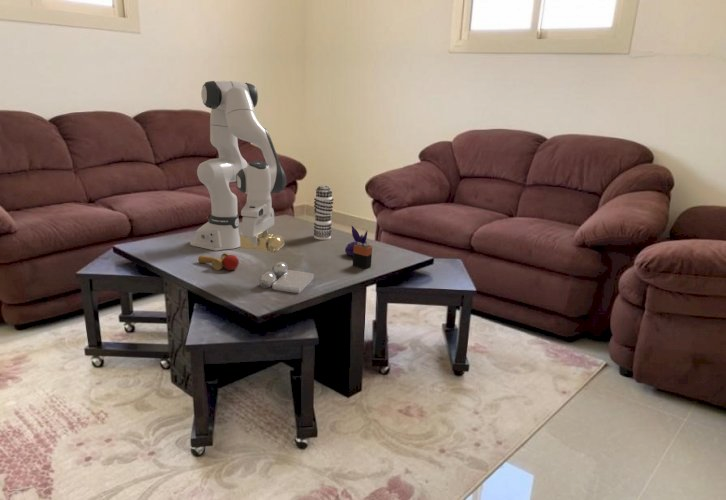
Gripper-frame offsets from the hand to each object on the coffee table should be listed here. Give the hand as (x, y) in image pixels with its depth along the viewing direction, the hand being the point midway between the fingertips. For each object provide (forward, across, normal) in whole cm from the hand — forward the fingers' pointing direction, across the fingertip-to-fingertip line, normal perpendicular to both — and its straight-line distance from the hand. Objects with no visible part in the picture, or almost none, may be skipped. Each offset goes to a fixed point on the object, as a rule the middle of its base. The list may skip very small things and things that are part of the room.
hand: (259, 243), depth 194 cm
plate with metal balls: (+14, 0, +11) cm, 18 cm away
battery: (+15, -29, +33) cm, 46 cm away
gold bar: (+2, 0, +1) cm, 2 cm away
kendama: (+14, -6, -21) cm, 26 cm away
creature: (+15, -44, +27) cm, 54 cm away
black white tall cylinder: (+14, -62, +5) cm, 64 cm away
